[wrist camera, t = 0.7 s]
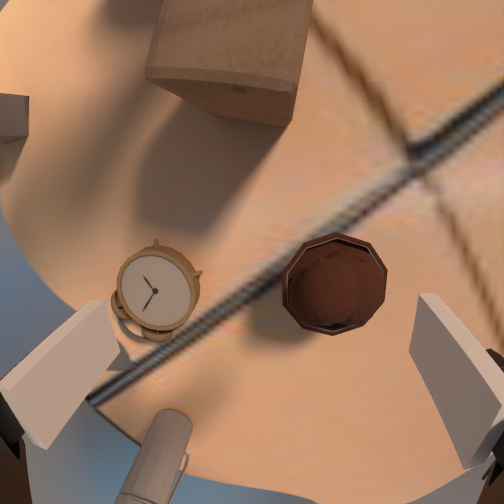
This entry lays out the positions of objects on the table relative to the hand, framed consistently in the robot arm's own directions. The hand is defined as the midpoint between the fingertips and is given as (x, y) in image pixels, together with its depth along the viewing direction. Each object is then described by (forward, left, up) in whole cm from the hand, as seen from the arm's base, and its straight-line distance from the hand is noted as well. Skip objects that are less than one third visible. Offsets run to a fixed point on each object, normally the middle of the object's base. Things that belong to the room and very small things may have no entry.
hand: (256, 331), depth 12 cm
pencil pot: (-18, -42, -28) cm, 53 cm away
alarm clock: (+11, -17, -28) cm, 35 cm away
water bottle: (+38, -18, -28) cm, 50 cm away
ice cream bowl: (+6, +6, -28) cm, 29 cm away
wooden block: (-16, -2, -28) cm, 32 cm away
